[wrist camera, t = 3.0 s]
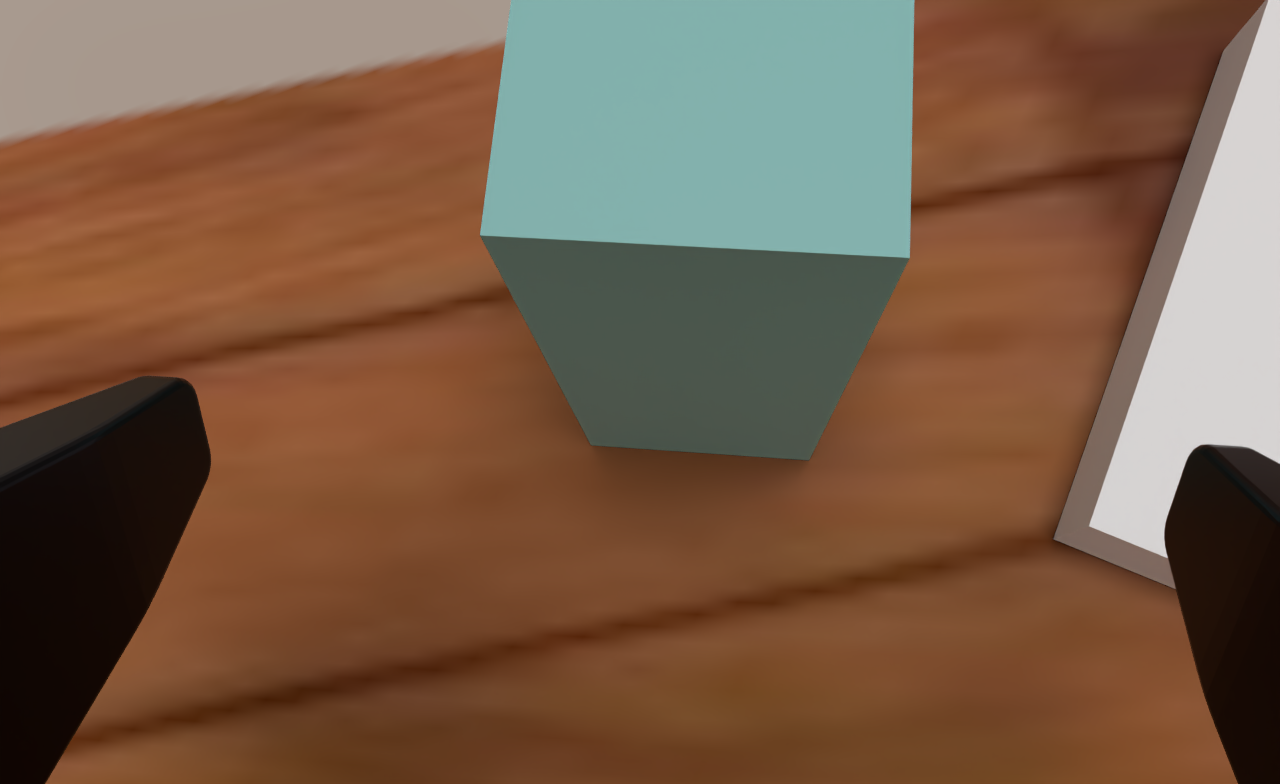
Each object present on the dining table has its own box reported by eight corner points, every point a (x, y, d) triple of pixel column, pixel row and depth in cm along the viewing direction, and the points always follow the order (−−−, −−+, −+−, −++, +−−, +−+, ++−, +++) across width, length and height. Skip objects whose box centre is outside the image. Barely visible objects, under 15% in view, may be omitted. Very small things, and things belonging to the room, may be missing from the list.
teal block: (808, 460, 21) (910, 258, 11) (590, 445, 22) (479, 235, 11) (817, 255, 22) (916, -111, 12) (610, 244, 23) (526, -118, 12)
